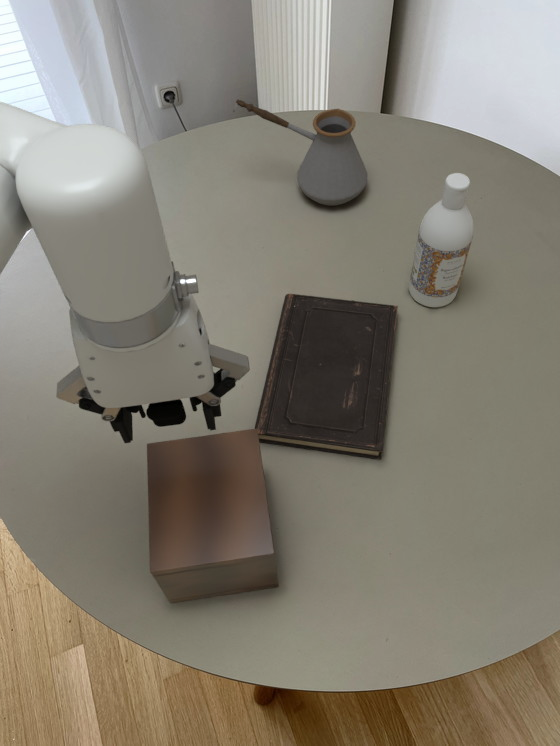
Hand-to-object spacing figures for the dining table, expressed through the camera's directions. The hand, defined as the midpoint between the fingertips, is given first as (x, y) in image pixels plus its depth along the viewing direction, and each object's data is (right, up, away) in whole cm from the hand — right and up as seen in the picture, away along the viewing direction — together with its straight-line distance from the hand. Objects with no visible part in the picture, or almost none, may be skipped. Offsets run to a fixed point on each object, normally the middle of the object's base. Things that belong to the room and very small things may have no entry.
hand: (169, 422), depth 61 cm
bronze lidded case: (+3, -14, +14) cm, 20 cm away
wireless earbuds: (0, -1, +1) cm, 1 cm away
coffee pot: (+14, +36, +48) cm, 62 cm away
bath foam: (+33, +16, +34) cm, 50 cm away
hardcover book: (+17, +4, +27) cm, 32 cm away
